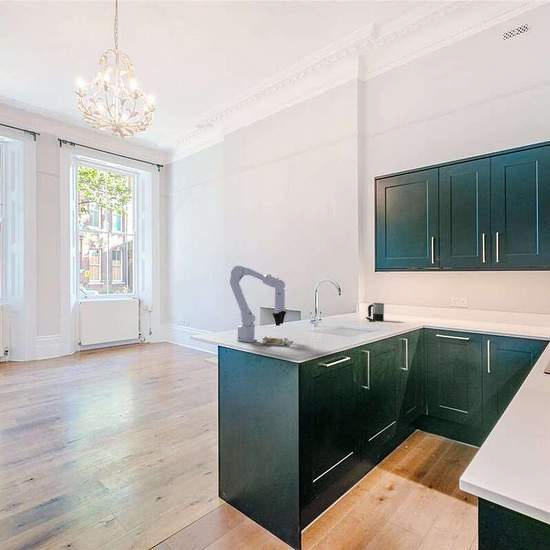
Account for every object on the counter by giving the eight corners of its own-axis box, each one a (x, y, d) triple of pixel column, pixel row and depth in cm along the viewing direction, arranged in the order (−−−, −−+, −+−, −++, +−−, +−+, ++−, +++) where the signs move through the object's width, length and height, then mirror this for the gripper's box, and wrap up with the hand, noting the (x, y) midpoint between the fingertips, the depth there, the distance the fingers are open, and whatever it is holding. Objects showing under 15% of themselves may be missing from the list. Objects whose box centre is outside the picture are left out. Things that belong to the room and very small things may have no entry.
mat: (260, 345, 194) (260, 344, 194) (268, 340, 209) (268, 339, 209) (287, 347, 190) (287, 346, 190) (293, 341, 205) (293, 341, 205)
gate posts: (261, 345, 193) (261, 338, 193) (262, 344, 196) (262, 337, 196) (287, 346, 192) (287, 338, 192) (287, 345, 195) (287, 337, 195)
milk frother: (384, 320, 302) (384, 303, 302) (382, 322, 288) (382, 304, 288) (367, 319, 308) (367, 302, 308) (364, 321, 293) (365, 303, 293)
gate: (263, 342, 196) (263, 337, 196) (264, 342, 197) (264, 336, 197) (281, 344, 193) (281, 338, 193) (282, 343, 195) (282, 337, 195)
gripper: (283, 302, 196) (283, 326, 196) (289, 300, 210) (288, 323, 210) (271, 301, 198) (271, 326, 198) (277, 299, 212) (277, 322, 212)
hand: (279, 324), depth 204 cm, fingers open, 7 cm apart
